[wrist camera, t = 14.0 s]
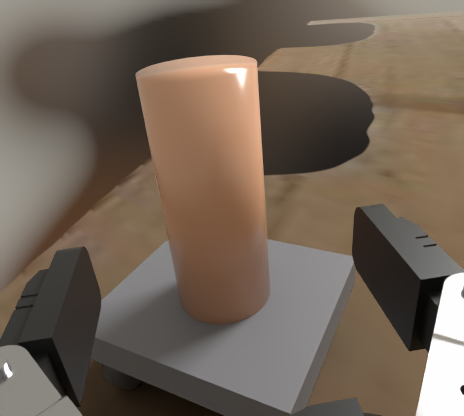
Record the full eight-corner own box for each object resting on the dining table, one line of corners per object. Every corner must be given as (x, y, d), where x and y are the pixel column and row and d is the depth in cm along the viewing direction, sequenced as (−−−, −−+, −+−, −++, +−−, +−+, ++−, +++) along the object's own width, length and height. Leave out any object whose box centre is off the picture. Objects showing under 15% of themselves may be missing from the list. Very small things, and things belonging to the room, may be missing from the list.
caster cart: (195, 277, 33) (185, 222, 30) (352, 319, 27) (356, 257, 25) (95, 391, 24) (71, 328, 22) (292, 483, 19) (290, 413, 17)
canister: (208, 256, 26) (179, 55, 20) (283, 274, 24) (275, 54, 18) (161, 308, 22) (109, 80, 17) (246, 335, 20) (220, 83, 14)
